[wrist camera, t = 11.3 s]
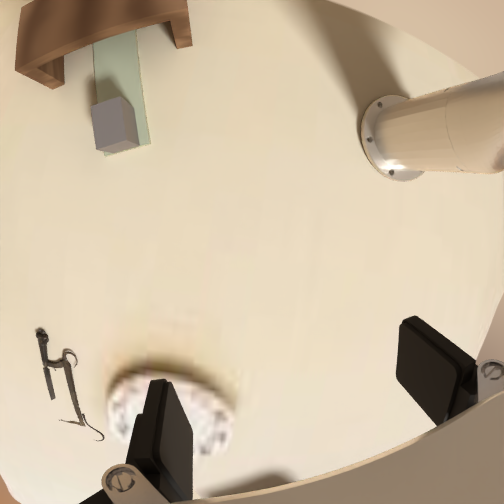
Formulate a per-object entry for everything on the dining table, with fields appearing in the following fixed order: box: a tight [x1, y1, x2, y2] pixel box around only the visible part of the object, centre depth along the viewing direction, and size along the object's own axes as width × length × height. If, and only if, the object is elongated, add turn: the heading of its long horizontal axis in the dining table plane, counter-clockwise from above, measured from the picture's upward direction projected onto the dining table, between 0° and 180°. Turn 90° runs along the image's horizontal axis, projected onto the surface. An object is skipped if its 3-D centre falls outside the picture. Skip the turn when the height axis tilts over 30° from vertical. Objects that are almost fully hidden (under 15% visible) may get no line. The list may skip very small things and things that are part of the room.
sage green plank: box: [91, 29, 151, 157], centre depth 28 cm, size 6×22×7 cm, turn 10°
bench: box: [15, 0, 193, 89], centre depth 25 cm, size 20×10×10 cm, turn 100°
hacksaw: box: [36, 330, 104, 441], centre depth 40 cm, size 24×10×2 cm, turn 169°
